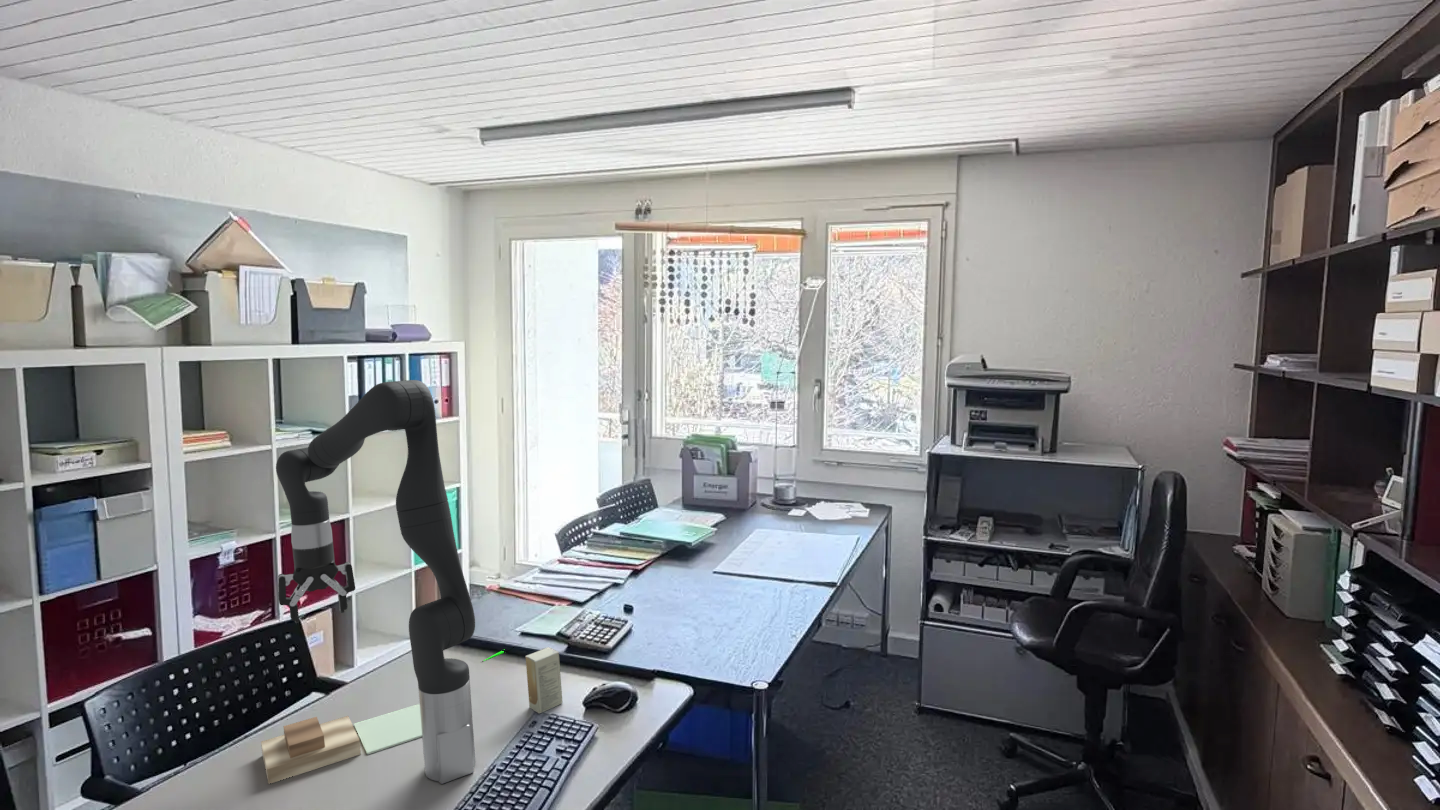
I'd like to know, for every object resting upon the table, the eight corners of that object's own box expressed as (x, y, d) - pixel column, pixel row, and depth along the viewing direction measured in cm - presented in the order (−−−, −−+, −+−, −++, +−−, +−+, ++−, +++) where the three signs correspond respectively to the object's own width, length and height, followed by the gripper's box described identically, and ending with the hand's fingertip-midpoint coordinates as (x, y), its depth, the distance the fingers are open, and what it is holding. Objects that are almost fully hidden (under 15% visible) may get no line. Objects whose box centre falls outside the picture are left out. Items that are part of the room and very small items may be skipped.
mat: (467, 721, 165) (467, 720, 165) (367, 754, 153) (367, 752, 153) (448, 696, 176) (448, 694, 176) (353, 725, 165) (353, 723, 165)
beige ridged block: (360, 754, 154) (359, 740, 153) (268, 784, 144) (267, 769, 144) (349, 728, 163) (348, 715, 163) (262, 755, 154) (260, 741, 154)
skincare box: (552, 697, 175) (549, 645, 173) (563, 703, 172) (560, 651, 170) (527, 707, 170) (524, 655, 169) (538, 714, 167) (534, 661, 166)
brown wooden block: (325, 747, 151) (323, 735, 151) (290, 758, 148) (289, 745, 147) (317, 728, 158) (316, 716, 158) (284, 737, 155) (283, 726, 155)
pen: (524, 644, 204) (524, 641, 204) (480, 664, 193) (480, 661, 193) (522, 643, 205) (522, 640, 205) (478, 663, 193) (478, 660, 193)
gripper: (274, 553, 154) (282, 631, 156) (352, 539, 162) (359, 614, 164) (272, 544, 160) (279, 619, 162) (347, 532, 168) (353, 603, 170)
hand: (319, 616), depth 163 cm, fingers open, 8 cm apart
